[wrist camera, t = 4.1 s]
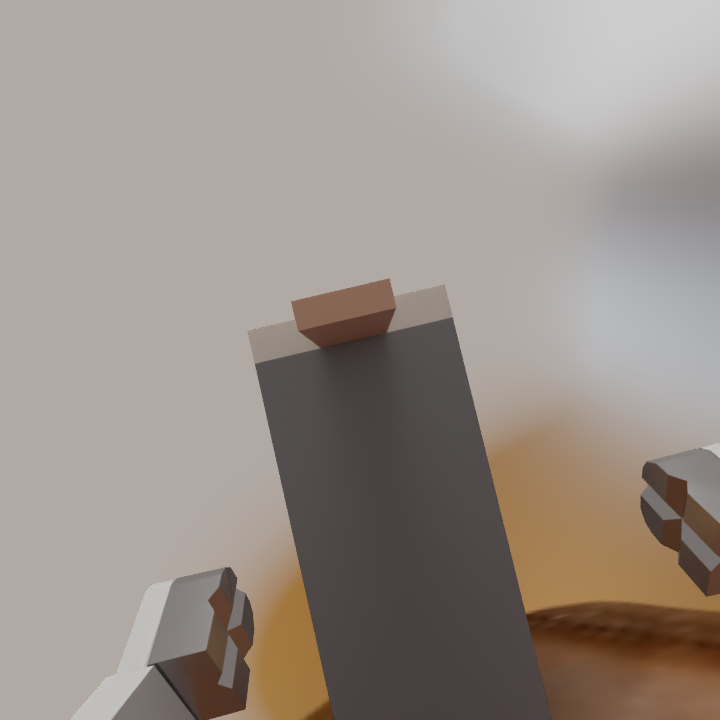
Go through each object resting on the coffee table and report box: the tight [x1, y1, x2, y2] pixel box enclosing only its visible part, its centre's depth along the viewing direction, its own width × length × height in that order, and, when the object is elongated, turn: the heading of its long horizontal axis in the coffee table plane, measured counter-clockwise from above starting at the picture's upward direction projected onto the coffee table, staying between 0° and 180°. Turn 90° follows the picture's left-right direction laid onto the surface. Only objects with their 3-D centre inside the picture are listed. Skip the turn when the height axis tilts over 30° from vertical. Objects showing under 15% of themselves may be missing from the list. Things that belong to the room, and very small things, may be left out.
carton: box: [255, 317, 552, 720], centre depth 30 cm, size 8×12×26 cm, turn 89°
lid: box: [248, 279, 452, 364], centre depth 27 cm, size 17×12×2 cm
